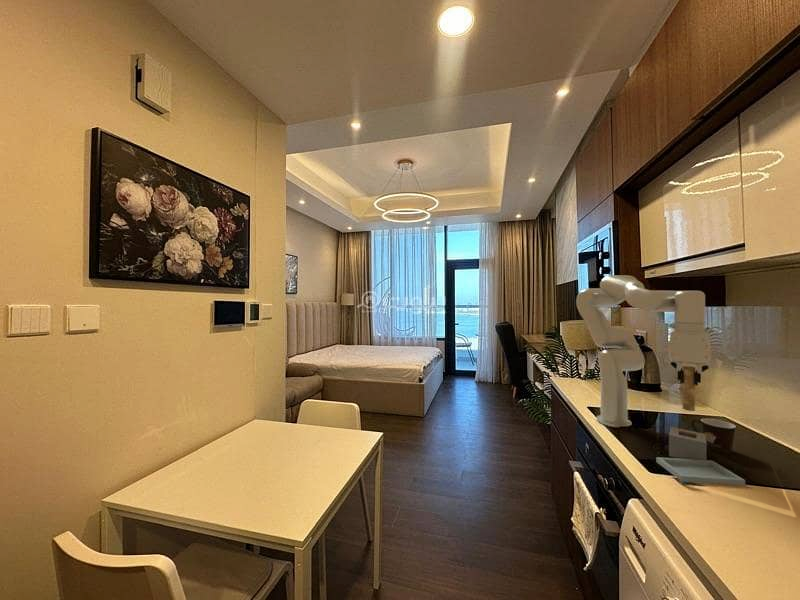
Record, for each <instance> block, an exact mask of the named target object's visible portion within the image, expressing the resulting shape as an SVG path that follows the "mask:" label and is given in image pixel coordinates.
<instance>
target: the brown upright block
mask: <svg viewBox="0 0 800 600" xmlns="http://www.w3.org/2000/svg"><path fill="white" fill-rule="evenodd" d="M682 370H683V383H682V409H683V410H686V411H690V412H695V411H696V385H695V372H696V367H695V366H688V365H682Z"/></svg>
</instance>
